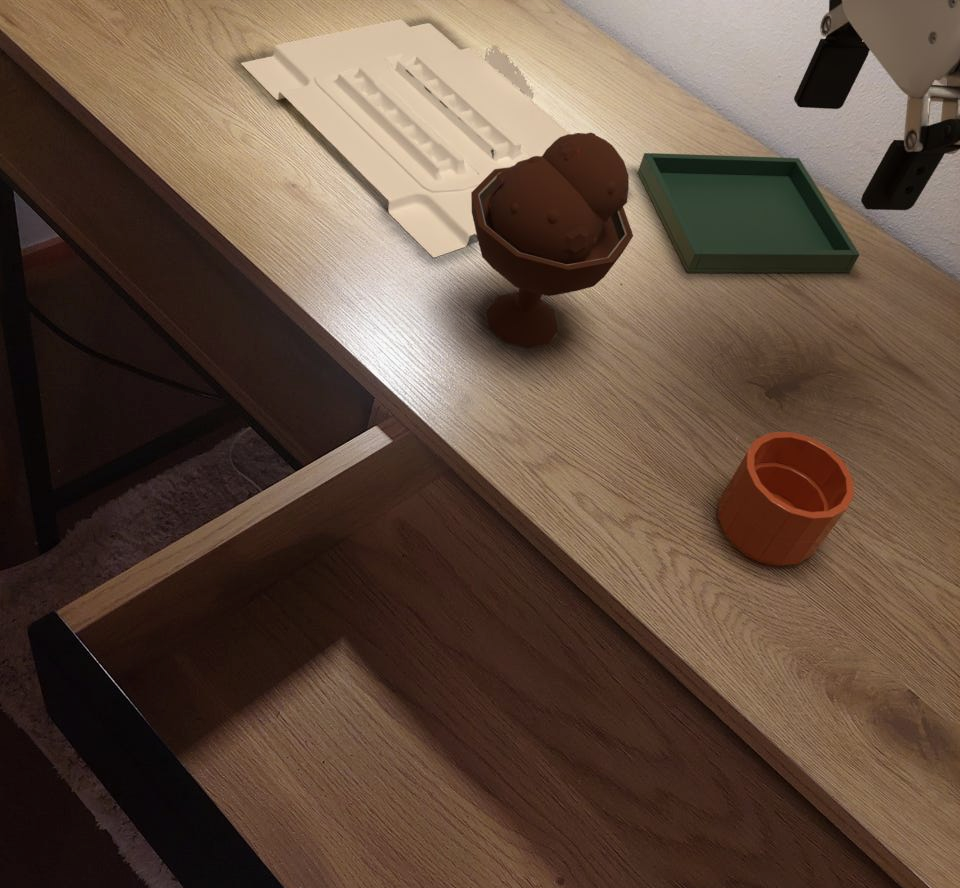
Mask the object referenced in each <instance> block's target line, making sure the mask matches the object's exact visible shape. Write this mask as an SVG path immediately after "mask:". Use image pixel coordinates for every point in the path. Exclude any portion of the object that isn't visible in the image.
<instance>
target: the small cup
mask: <svg viewBox="0 0 960 888" xmlns="http://www.w3.org/2000/svg"><path fill="white" fill-rule="evenodd" d="M854 486H855V485H854V477H853V476H852V474H851V472H850V470H849V468H848V467H847V465H846V463H845V461H844V460H843V459H842V458H840V457H839V456H838V455H837V454H836V453H835V452H834V451H833V450H832V449H831V448H830V447H829V446H828V445H825V444H824V443H822V442H820V441H818V440H817V439H814V438H813V437H811V436H808V435H804V434H801V433H797V432H792V431H772V432H768V433H766V434H764V435H762V436H760V437H758V438H756V439H754V440H753V442H752V443H751V445H750V446H749V448H748V450H747V451H746V453H745V455H744V456H743V458H742V459H741V462H740V463H739V465H738V467H737V469H736V470H735V472H734V474H733V475H732V477H731V479H730V481H729V482H728V484H727V486H726V487H725V489H724V491H723V493H722V494H721V496H720V498H719V500H718V510H717V512H718V513H717V517H718V520H719V522H720V525H721V528H722V530H723V532H724V535H725V536H726V538H727V539H728V540H729V542H730V543H731V544H732V545H733V546H734V547H735V548H736V549H737V550H738V551H739V552H741V553H742V554H744V555H745V556H747V557H748V558H750V559H752V560H754V561H757V562H759V563H762V564H765V565H769V566H789V565H798V564H800V563H802V562H804V561H806V560H807V559H809V558H811V557H813V555H814V554H815V553H816V552H817V550H818V549H819V547H821V545H822V543H824V541H825V539H826V538H827V537H828V535H829V534H830V533H831V532H832V530H833V529H834V527H835V526H836V524H837V523H838V522H839V521H840V519H841V518H842V516H844V514H845V513H846V511H847V510H848V508H849V506H850V504H851V502H852V501H853V500H854V496H855V489H854Z"/></svg>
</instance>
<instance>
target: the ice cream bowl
mask: <svg viewBox="0 0 960 888" xmlns="http://www.w3.org/2000/svg"><path fill="white" fill-rule="evenodd" d="M629 177H630V176H629V173H628V169H627V166H626V163H625V160H624V159H623V158H622V156H621V155H620V154H619V152H618V151H617V149H616V148H615V147H614V145H613V144H612V143H610V142H608V141H607V140H606V139H604V138H603V137H601V136H599V135H596V134H595V133H594V132H587V133H585V132H584V133H583V132H575V133H570V134H568V135H565V136H562V137H560V138H558V139H557V140H556V141H554V143H553V144H552V145H551V146H550V147H549V148H547V150H546V151H545V153H544V154H543V156H534V157H531V158H530V159H526V160H523V161H520V162H517V163H516V164H515V165H514V166H511V167H507V168H500V169H494V170H493V171H492V172H491V173H490V174H489V175H488V176H487V177H486V178H485V179H484V180H483V181H482V182H481V183H480V184H479V185H478V186H477V187H476V188H475V189H474V190H473V191H472V192H471V202H472V216H473V220H474V225H475V229H476V234H475V235H476V239H477V242H478V246H479V251H480V253H481V257H482V258H483V259H484V261H485V262H486V263H487V264H488V265H489V266H490V267H491V268H492V269H493V270H494V271H495V272H496V273H498V274H499V275H500V276H502V277H503V278H504V279H505V280H506V281H508V282H509V283H510V284H511V285H513V287H514V288H517V289H518V290H517V291H513V292H509V293H504V294H498V295H497V297H496V298H494V300H493V301H492V302H491V304H490V305H489V306H488V308H487V309H486V310H485V311H484V312H485V317H486V321H487V327H488V329H489V330H490V331H491V332H492V333H494V335H496V336H497V337H498V338H500V339H501V340H502V341H504V343H506V344H509V345H515V346H518V347H522V348H525V349H531V348H535V347H541V346H546V345H549V344H550V343H551V342H552V340H554V338H555V337H556V335H557V334H558V333H559V323H558V319H557V316H556V312H555V309H553V307H551V306H550V305H549V304H548V303H546V302H545V301H544V300H543V299H542V297H543V296H547V297H553V296H558V295H562V294H568V293H573V292H579V291H582V290H585V289H589V288H593V287H595V286H596V285H597V284H598V283H599V282H601V280H603V279H604V278H605V277H606V276H607V274H608V273H609V272H610V270H611V269H612V268H613V266H614V265H615V263H616V262H617V261H618V260H619V258H620V257H621V255H622V254H623V253H624V252H625V250H626V249H627V247H628V245H629V244H630V242H631V240H632V239H633V237H634V234H633V231H632V229H631V225H630V221H629V219H628V217H627V214H626V211H625V208H624V206H625V205H626V204H627V203H628V197H629V196H628V195H629V190H630V189H629V186H630V185H629V184H630V183H629V179H630V178H629Z"/></svg>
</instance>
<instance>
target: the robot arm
mask: <svg viewBox="0 0 960 888" xmlns="http://www.w3.org/2000/svg"><path fill="white" fill-rule="evenodd" d="M819 29H820V30H819V31H820V35H821V36H822V37H825V38H819V41H818V43H817V46H816V47H815V50H814V53H813V55H812V57H811V59H810V61H809V63H808V65H807V68H806V70H805V72H804V74H803V77H802V79H801V81H800V83H799V85H798V88H797V90H796V92H795V94H794V96H793V101H794V103H795V104H796V105H797V107H798V108H805V109H823V110H824V109H825V110H826V109H828V110H839V109H841V108H842V107H843V106H844V105H845V102H846V100H847V98H848V96H849V94H850V92H851V91H852V88H853V86H854V84H855V82H856V80H857V78H858V77H859V74H860V72H861V70H862V68H863V66H864V64H865V62H866V60H867V58H868V56H869V53H870V52H871V53H872V55H873V56H874V58H875V59H876V60H877V61H878V62H879V64H880V65H881V66H882V68H883V69H884V70H885V72H886V73H887V74H888V75H889V77H890V78H891V79H892V81H893V82H894V83H895V85H897V87H898V88H899V89H900V91H902V92H903V94H905V95H906V96H907V100H906V111H905V120H904V121H905V122H904V133H903V139H893V140H892V142H891V143H890V144H889V146H888V148H887V149H886V152H885V153H884V155H883V157H882V159H881V161H880V162H879V164H878V166H877V168H876V170H875V172H874V174H873V175H872V177H871V179H870V181H869V183H868V184H867V186H866V188H865V190H864V192H863V193H862V195H861V199H860V202H861V204H862V205H863V207H864V209H866V210H872V211H874V210H877V211H908V210H910V209H912V208H913V207H914V206H915V204H916V203H917V202H918V199H919V198H920V196H921V194H922V193H923V191H924V189H925V188H926V186H927V184H928V182H929V181H930V179H931V178H932V176H933V174H934V173H935V171H936V169H937V168H938V166H939V164H940V163H941V161H942V159H943V158H944V157H945V155H953V154H956V153H957V152H958V151H959V150H960V0H828V12H827V13H826V14H825V15H824V16H823V17H822V19H821V22H820V26H819ZM944 77H945V78H946V85H944V84H943V85H942V84H934V82H935V81H941V80H942V79H943V78H944ZM931 102H937V103H938V102H940V103H941V104H942V106H941V115H940V121H938V122H936V123H932V124H930V123H929V122H930V113H931ZM929 124H930V125H929Z"/></svg>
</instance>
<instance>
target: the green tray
mask: <svg viewBox="0 0 960 888" xmlns="http://www.w3.org/2000/svg"><path fill="white" fill-rule="evenodd" d="M637 173H638V176H639V178H640V180H641V182H642V184H643V186H644V188H645V190H646V192H647V194H648V196H649V199H650V200H651V203H652V204H653V206H654V208H655V210H656V213H657V214H658V216H659V218H660V221H661V222H662V225H663V226H664V229H665V230H666V233H667V235H668V237H669V239H670V241H671V243H672V245H673V247H674V248H675V251H676V254H677V255H678V257H679V259H680V261H681V263H682V265H683V267H684V270H685V271H686V273H687V274H689V273H692V274H693V273H695V274H696V273H697V274H698V273H699V274H700V273H703V274H704V273H705V274H707V273H709V274H711V273H713V274H714V273H715V274H717V273H718V274H719V273H720V274H721V273H726V274H728V273H729V274H730V273H732V274H736V273H737V274H739V273H740V274H741V273H745V274H746V273H747V274H748V273H749V274H750V273H755V274H757V273H758V274H759V273H764V274H765V273H766V274H768V273H769V274H770V273H772V274H775V273H793V274H795V273H798V274H799V273H801V274H802V273H807V274H809V273H813V274H815V273H816V274H817V273H819V274H820V273H829V274H830V273H835V274H837V273H838V274H839V273H843V274H844V273H847V274H849V273H851V271H852V269H853V268H854V266H855V264H856V263H857V261H858V259H859V257H860V255H861V254H860V252H859V251H858V249H857V248H856V246H855V245H854V243H853V241H852V240H851V238H850V236H849V235H848V233H847V231H846V230H845V228H844V226H842V224H841V222H840V221H839V219H838V218H837V216H836V214H835V213H834V211H833V210H832V207H831V206H830V205H829V203H828V201H827V200H826V199H825V197H824V195H823V194H822V191H820V189H819V188H818V186H817V184H816V183H815V181H814V180H813V178H812V176H811V175H810V173H809V171H808V170H807V169H806V167H805V165H804V164H803V162H802V161H801V159H800V158H799V157H778V156H777V157H776V156H774V157H773V156H749V155H717V154H716V155H715V154H714V155H713V154H693V153H692V154H689V153H687V154H686V153H663V152H661V153H659V152H658V153H657V152H656V153H655V152H644V153H643V155H642V158H641V161H640V165H639V168H638V169H637Z"/></svg>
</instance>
